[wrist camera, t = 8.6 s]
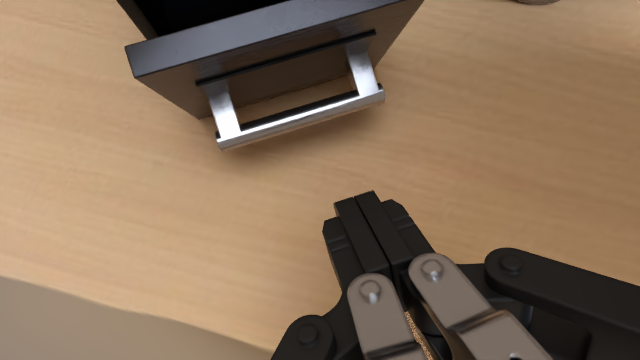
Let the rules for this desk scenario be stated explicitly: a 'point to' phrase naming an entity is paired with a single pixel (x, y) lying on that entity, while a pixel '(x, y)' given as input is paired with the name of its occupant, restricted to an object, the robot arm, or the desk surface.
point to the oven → (184, 13)
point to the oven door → (273, 62)
